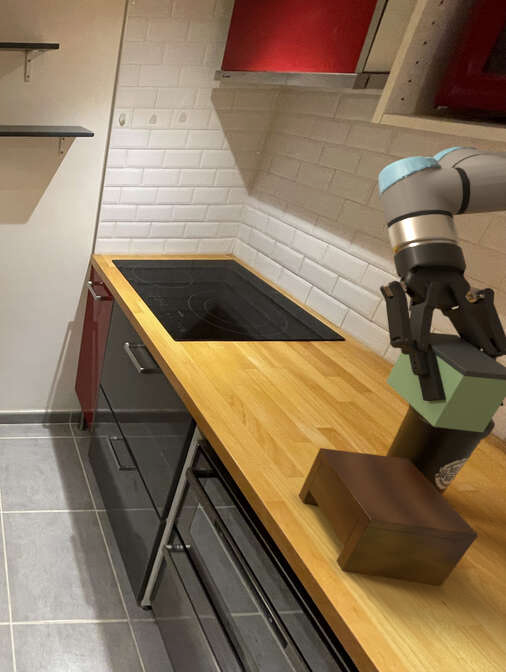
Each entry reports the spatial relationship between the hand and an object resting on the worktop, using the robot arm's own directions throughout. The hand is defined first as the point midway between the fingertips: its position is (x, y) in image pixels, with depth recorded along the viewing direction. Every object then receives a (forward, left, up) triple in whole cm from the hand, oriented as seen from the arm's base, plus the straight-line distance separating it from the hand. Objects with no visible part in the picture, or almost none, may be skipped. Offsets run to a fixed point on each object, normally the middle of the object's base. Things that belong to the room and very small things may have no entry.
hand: (462, 402), depth 61 cm
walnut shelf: (+1, -2, -31) cm, 31 cm away
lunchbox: (0, -4, -4) cm, 5 cm away
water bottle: (-13, -14, -31) cm, 37 cm away
